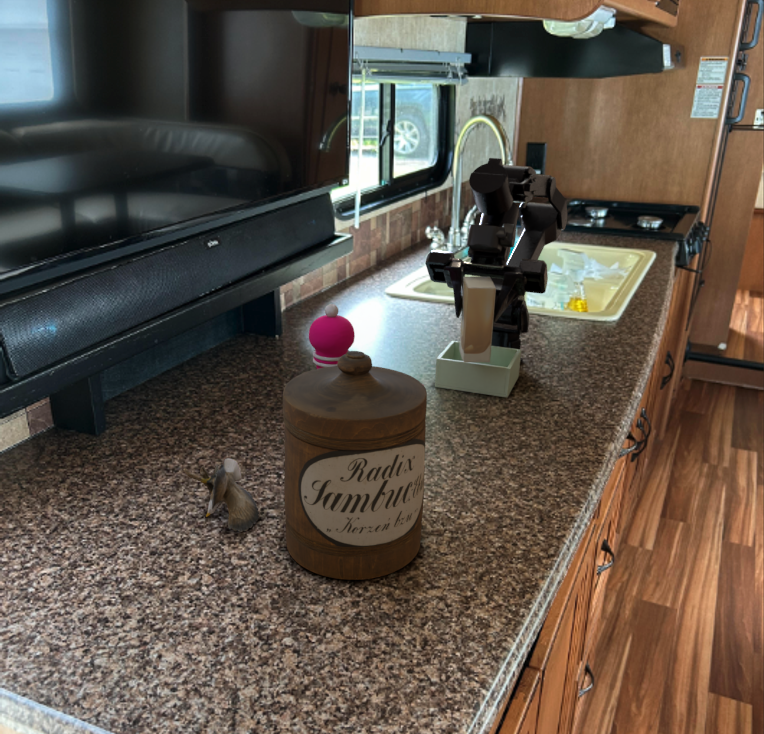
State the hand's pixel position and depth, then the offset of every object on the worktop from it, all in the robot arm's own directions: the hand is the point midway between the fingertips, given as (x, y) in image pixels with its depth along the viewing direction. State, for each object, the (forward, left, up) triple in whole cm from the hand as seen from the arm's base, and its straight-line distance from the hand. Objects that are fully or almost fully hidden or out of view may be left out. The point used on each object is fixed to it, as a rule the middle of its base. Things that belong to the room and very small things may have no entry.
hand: (475, 318), depth 118 cm
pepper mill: (0, -28, -13) cm, 31 cm away
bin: (-4, +6, -13) cm, 15 cm away
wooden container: (+21, -41, -13) cm, 48 cm away
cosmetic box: (-1, +1, -7) cm, 7 cm away
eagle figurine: (+7, -49, -13) cm, 51 cm away
